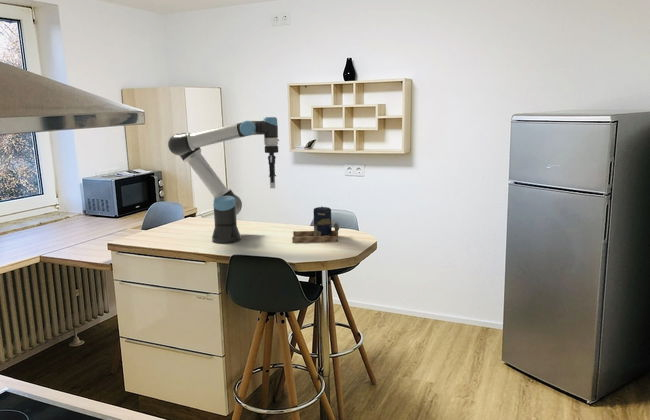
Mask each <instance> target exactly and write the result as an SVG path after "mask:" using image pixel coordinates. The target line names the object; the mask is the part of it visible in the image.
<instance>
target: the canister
mask: <svg viewBox="0 0 650 420" xmlns="http://www.w3.org/2000/svg"><path fill="white" fill-rule="evenodd" d="M332 224H333V223H332V209H331V207H327V206H319V207H315V208H313V231H314V236H332Z"/></svg>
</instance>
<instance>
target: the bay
mask: <svg viewBox="0 0 650 420" xmlns="http://www.w3.org/2000/svg"><path fill="white" fill-rule="evenodd" d="M332 224H333V227H334V228H333V229H334V230H332V236H314V230H297V231H295V230H294V231H292V233H293V234H292V235H293V236H292V238H291V239H292V244H296V243H297V244H299V243H300V244H305V243H307V244H308V243H314V244H315V243H339V230H340V227H339V223H338V221H337V220H334V221H333V222H332Z"/></svg>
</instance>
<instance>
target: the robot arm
mask: <svg viewBox="0 0 650 420" xmlns="http://www.w3.org/2000/svg"><path fill="white" fill-rule="evenodd" d="M278 126H279V125H278V118H277V117H276V116H265V117H263V120H243V121H242V122H238V123H237V122H236V123H233V124H229V125H225V126H221V127H217V128H212V129H208V130H204V131H199V132H195V133H191V132H187V133H186V132H183V133H182V132H181V133H175V134H173V135H171V136H170V137H169V138H168V142H167V147H168V149H169V151H170V152H171V153H172V154H173V155H175V156H179V157H180V159H182V161H183V162H185V163H188V164H189V166H190V167H191V168H192V170H193V171H194V172H195V174H196V175H197V177H199V179H200V180H201V181H202V183H203V185H204V186H205V187H206V189H207V190H208V191H209V193H210V194H211V195H212V196H213V203H212V204H213V205H212V206H213V217H214V228H213V232H212V235H211V236H212V237H211V241H212V242H213V243H214V244H228V243H229V244H233V243H236V242H239V241H241V234H240V231H239V228H238V224H237V222H238V221H237V215H239V213H240V212H241V211H242V207H243V201H242V199H241V198H240V197H239V196H238V195H236V194H235V193H234V192H233V190H232V189H231V188H227V187H226V185H225V184H224V183H223V182H222V180H221V179H220V177H219V176H218V174H217V173H216V172H215V170H214V169H213V168H212V166H211V165H210V164H209V162H208V161H207V160H206V158H205V156H203V154H202V149H201V148H202V147H206V146H210V145H215V144H218V143H222V142H226V141H232V140H235V139H240V138H245V137H250V136H256V135H257V136H259V135H260V136H261V135H263V142H264V153H265V154H268V156H267V160H268V165H269V167H268V168H269V169H268V170H269V175H268V178H269V186H270V187H269V188H270V189H276V177H277V175H276V155H275V153H276V154H278V153H279V141H280V139H279V131H278V130H279V129H278Z"/></svg>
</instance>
